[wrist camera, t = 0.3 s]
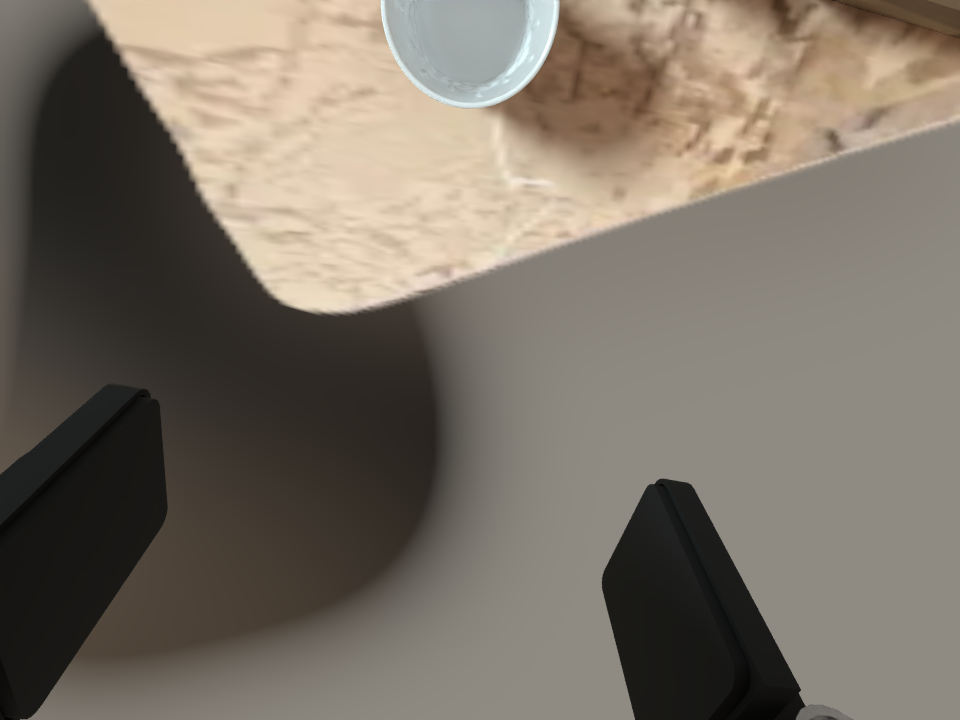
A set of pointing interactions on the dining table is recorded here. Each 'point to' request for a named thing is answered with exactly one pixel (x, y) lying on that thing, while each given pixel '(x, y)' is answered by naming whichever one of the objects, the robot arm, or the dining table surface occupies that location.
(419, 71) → the white cup
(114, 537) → the robot arm
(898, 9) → the carcass
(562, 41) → the dining table surface
